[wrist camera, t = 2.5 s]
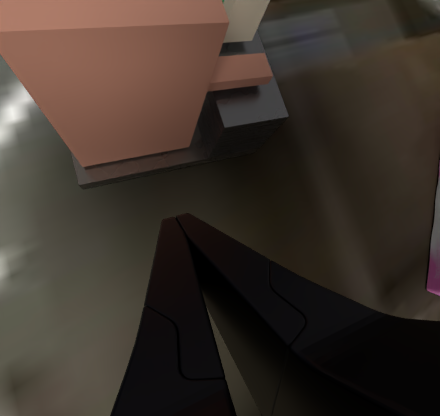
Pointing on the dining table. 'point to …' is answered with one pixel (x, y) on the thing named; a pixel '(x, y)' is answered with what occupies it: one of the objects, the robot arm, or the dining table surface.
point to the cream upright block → (243, 18)
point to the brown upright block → (123, 69)
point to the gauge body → (207, 129)
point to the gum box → (435, 248)
